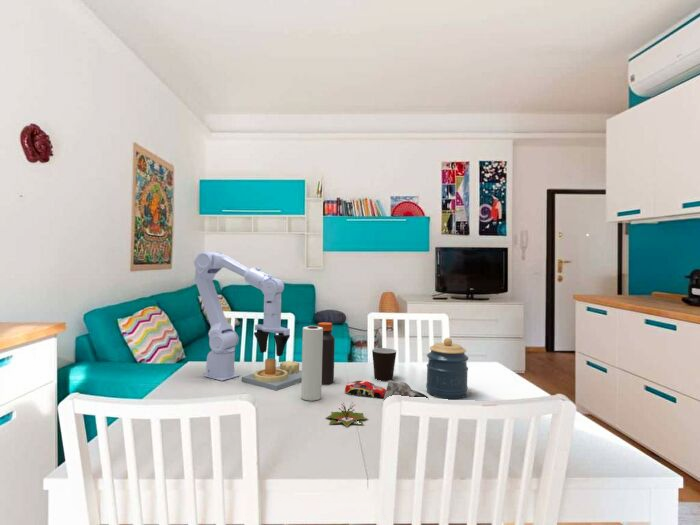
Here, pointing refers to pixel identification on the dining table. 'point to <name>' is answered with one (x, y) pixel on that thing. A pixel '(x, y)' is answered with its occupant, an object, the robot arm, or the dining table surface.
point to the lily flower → (346, 416)
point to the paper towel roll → (312, 363)
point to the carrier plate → (275, 384)
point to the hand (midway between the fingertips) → (271, 353)
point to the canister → (447, 370)
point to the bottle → (327, 353)
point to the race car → (364, 389)
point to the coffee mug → (383, 363)
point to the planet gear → (270, 368)
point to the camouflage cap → (401, 390)
